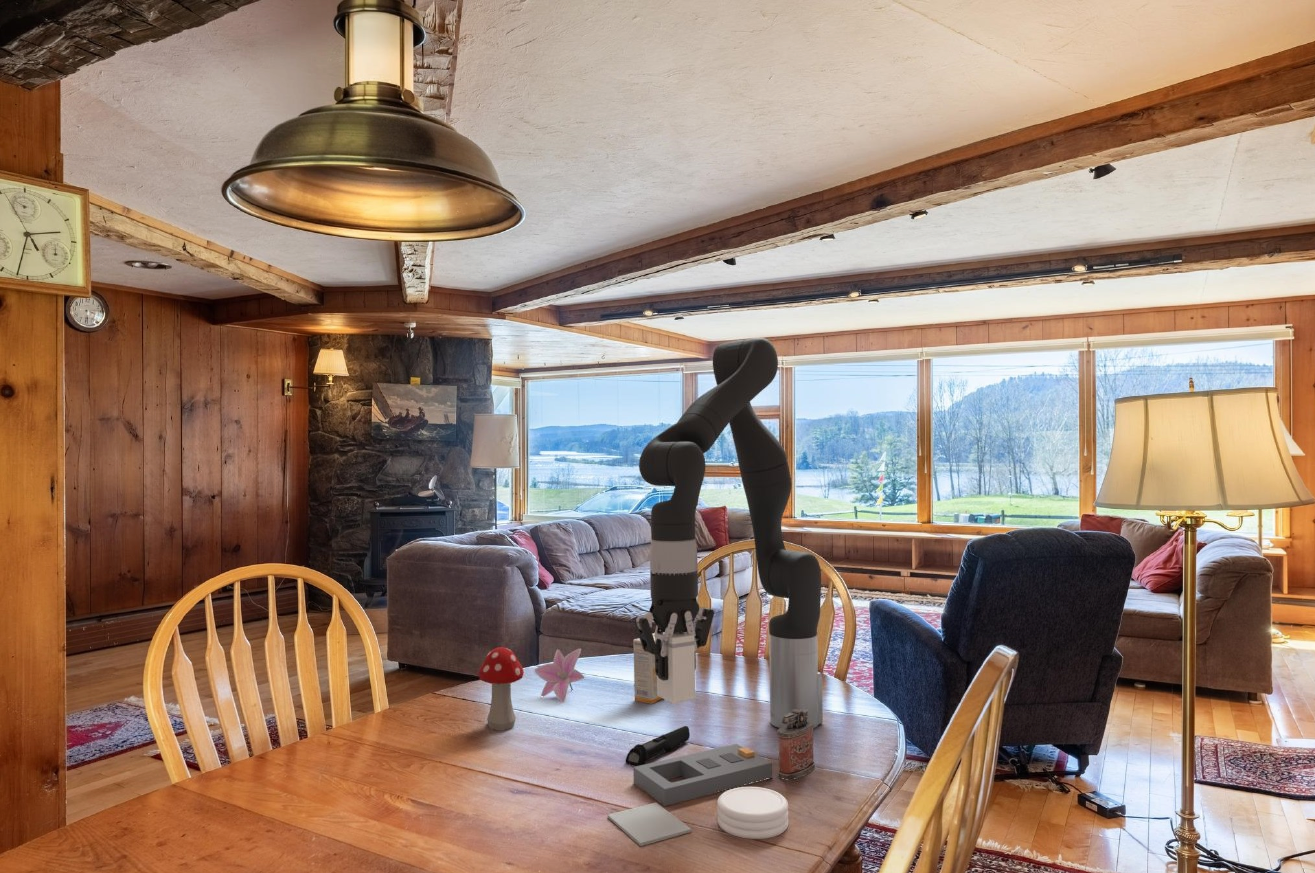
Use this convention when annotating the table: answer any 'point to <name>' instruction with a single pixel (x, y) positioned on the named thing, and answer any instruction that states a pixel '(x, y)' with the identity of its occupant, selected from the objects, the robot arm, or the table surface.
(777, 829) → the white short cylinder
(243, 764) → the table surface
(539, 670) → the lily
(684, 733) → the electric trimmer
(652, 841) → the rubber mat
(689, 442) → the robot arm
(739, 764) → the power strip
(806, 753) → the lighter
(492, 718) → the decorative mushroom
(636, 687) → the supplement box
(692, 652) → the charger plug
